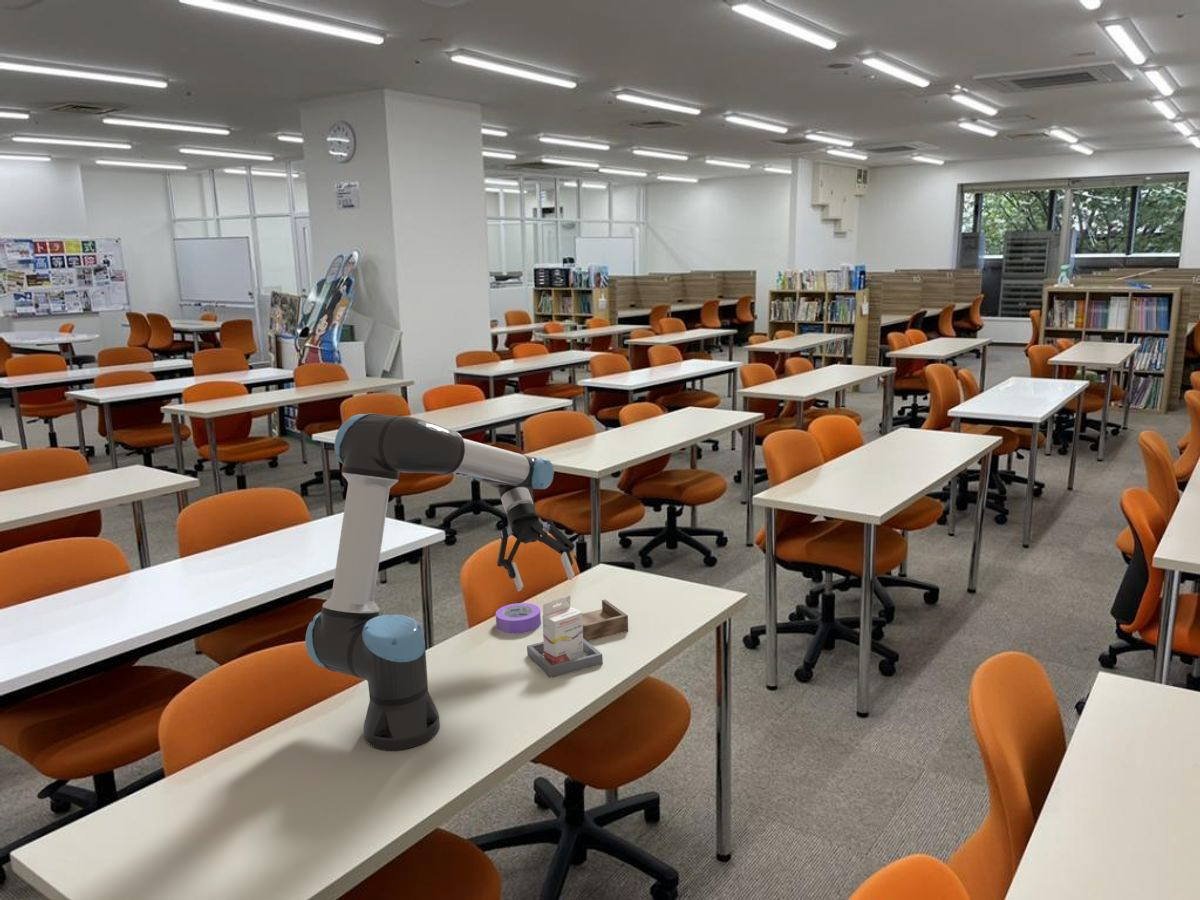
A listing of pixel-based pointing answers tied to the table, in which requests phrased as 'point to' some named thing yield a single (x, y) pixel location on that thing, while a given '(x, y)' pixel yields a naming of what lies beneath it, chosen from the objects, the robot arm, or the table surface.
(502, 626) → the masking tape
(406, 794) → the table surface
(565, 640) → the ink cartridge box
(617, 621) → the wooden tray
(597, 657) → the socket
